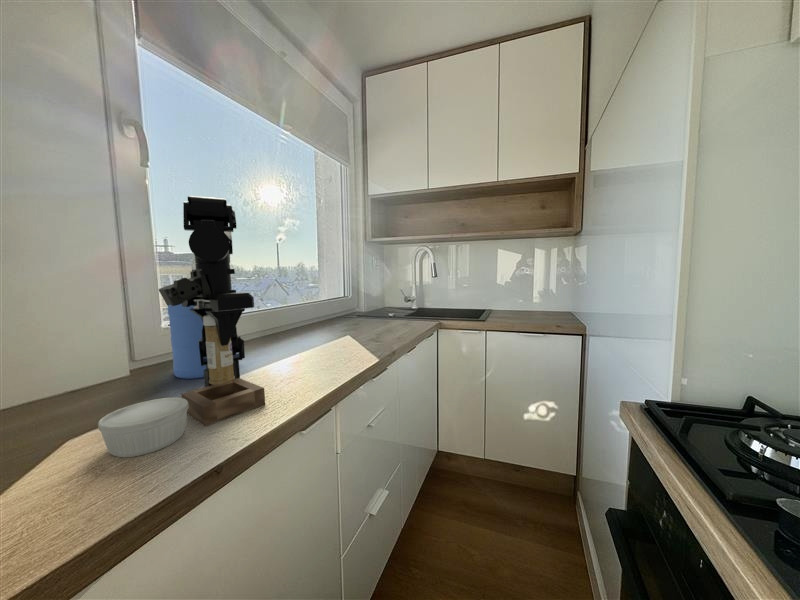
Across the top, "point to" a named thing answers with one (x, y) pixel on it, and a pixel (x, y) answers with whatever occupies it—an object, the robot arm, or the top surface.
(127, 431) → the ramekin
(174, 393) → the top surface
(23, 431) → the top surface
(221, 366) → the sprinkles bottle
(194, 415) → the socket block
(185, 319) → the water jug
